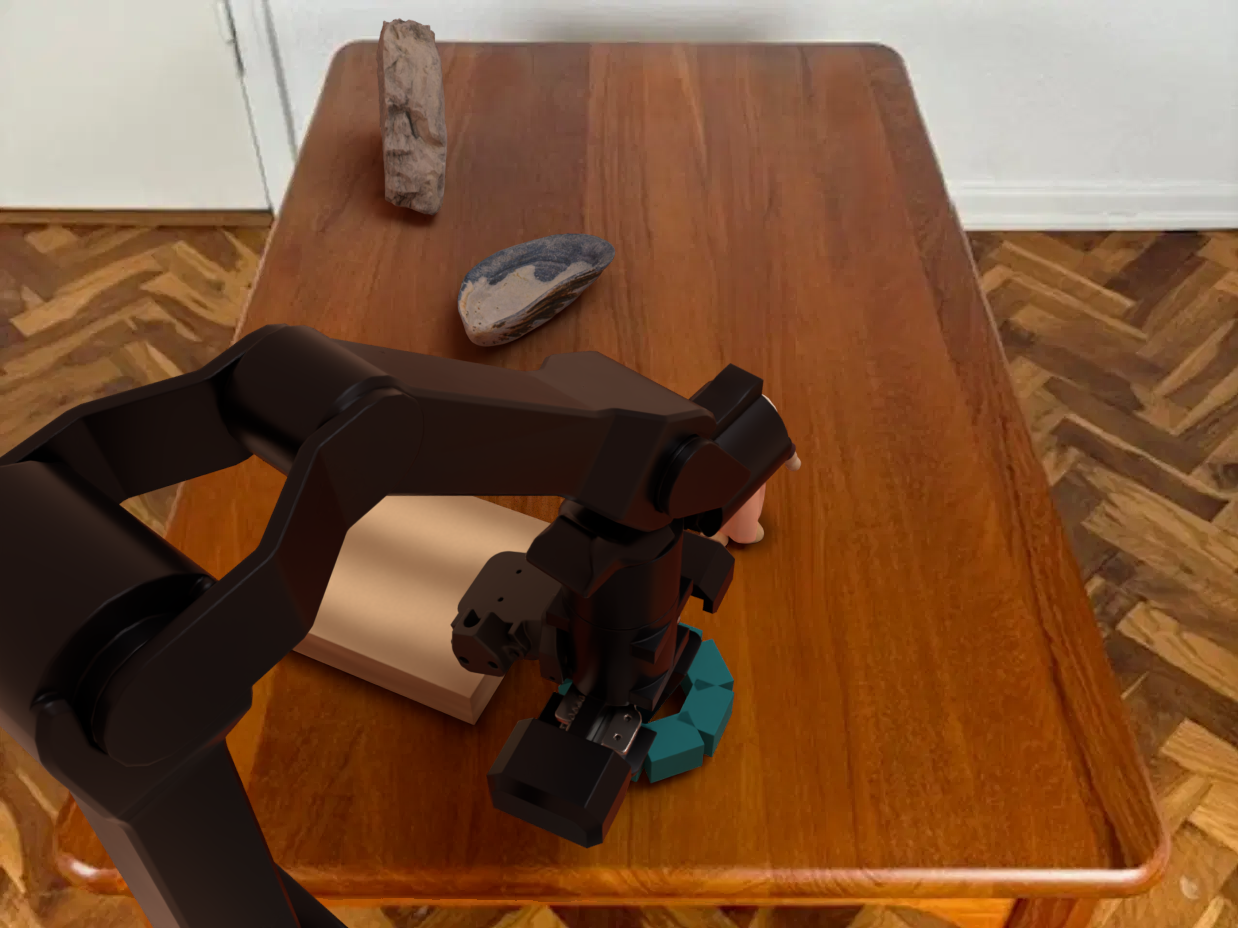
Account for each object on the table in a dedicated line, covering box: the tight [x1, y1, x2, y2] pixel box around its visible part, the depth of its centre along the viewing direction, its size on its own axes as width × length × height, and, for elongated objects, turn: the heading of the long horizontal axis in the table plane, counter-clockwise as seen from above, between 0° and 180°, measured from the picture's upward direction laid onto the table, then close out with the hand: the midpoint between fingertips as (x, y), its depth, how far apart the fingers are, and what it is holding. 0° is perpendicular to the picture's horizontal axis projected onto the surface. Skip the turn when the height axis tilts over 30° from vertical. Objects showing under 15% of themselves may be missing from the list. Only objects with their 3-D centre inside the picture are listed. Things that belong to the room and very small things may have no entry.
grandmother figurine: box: [699, 394, 802, 547], centre depth 78 cm, size 8×4×13 cm, turn 111°
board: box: [291, 496, 552, 726], centre depth 77 cm, size 14×18×3 cm
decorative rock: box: [375, 17, 448, 216], centre depth 107 cm, size 16×7×15 cm, turn 8°
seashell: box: [456, 232, 616, 347], centre depth 96 cm, size 15×12×5 cm
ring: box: [557, 621, 735, 784], centre depth 70 cm, size 10×10×2 cm
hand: (619, 750), depth 69 cm, fingers closed on ring, 2 cm apart
